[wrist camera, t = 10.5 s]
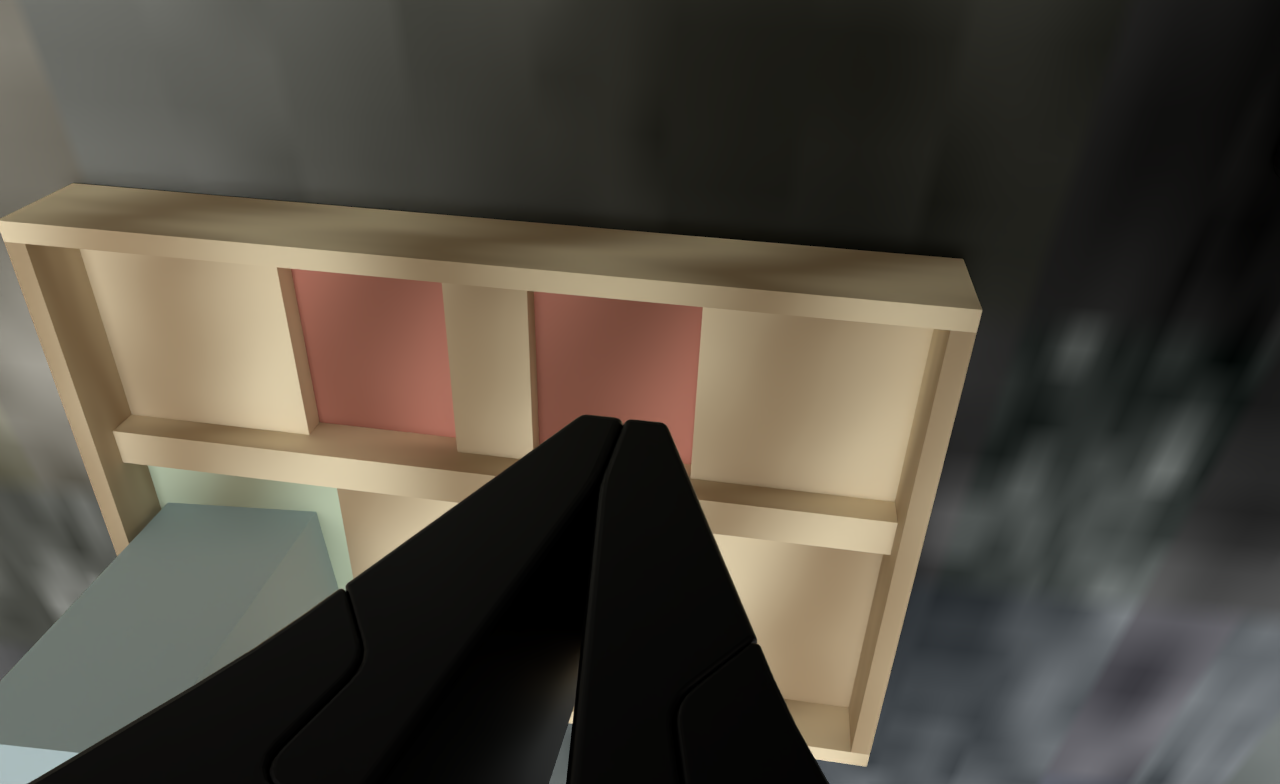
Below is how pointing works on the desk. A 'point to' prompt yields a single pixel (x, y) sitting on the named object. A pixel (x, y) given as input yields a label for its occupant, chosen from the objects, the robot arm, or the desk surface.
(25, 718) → the block
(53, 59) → the desk surface
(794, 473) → the wooden divided tray
